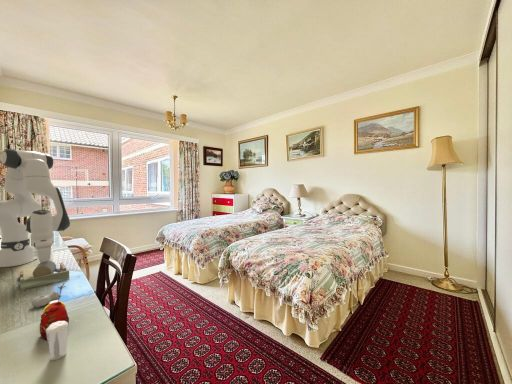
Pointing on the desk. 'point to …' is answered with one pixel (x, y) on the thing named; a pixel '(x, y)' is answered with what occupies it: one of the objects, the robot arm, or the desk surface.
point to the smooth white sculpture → (44, 299)
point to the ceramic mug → (45, 269)
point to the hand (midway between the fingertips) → (43, 266)
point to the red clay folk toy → (53, 315)
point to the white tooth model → (57, 339)
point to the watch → (53, 302)
